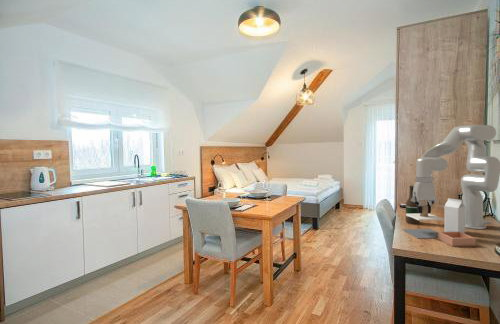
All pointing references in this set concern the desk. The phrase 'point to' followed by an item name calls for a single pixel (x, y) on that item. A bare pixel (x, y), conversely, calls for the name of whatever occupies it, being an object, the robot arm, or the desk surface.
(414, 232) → the mat
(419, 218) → the cover
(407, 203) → the beer bottle
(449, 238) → the terracotta square tray
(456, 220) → the milk carton
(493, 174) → the robot arm
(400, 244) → the desk surface
